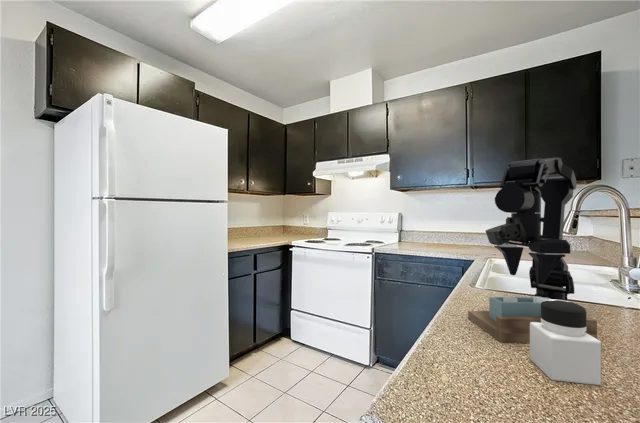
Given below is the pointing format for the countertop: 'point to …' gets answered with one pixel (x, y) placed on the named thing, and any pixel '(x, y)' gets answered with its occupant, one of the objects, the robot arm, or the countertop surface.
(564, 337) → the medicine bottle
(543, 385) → the countertop surface
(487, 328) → the walnut shelf
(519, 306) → the tray
